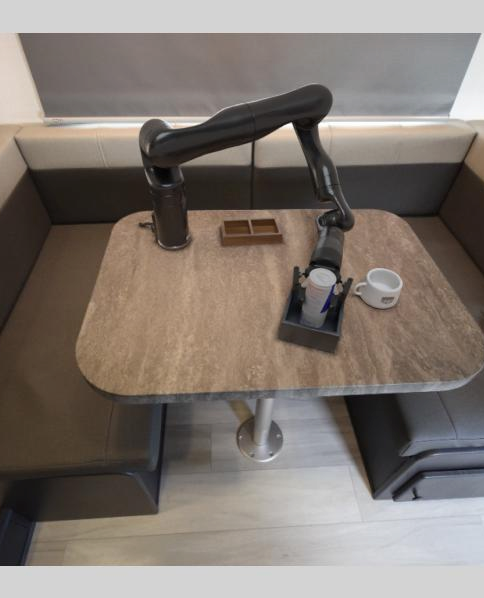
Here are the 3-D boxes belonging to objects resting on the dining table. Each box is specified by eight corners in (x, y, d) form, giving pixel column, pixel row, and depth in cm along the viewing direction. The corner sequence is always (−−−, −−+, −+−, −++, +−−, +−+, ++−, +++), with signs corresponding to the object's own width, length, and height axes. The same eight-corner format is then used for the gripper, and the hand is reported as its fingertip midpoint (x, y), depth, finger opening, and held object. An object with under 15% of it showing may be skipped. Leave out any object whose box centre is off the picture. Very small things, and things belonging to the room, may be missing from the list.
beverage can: (322, 334, 80) (336, 287, 69) (298, 330, 81) (308, 283, 70) (323, 316, 84) (337, 269, 73) (300, 312, 85) (310, 265, 74)
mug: (388, 282, 94) (396, 265, 89) (402, 309, 87) (411, 292, 83) (344, 284, 93) (350, 267, 89) (356, 311, 86) (362, 294, 82)
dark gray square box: (289, 301, 88) (292, 283, 84) (339, 313, 86) (345, 295, 81) (278, 339, 80) (280, 321, 75) (333, 353, 77) (339, 336, 73)
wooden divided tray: (221, 227, 110) (220, 219, 108) (275, 225, 112) (276, 217, 109) (223, 245, 104) (223, 237, 101) (281, 242, 105) (282, 234, 103)
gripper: (299, 240, 84) (284, 286, 73) (360, 252, 82) (354, 302, 70) (295, 264, 90) (280, 310, 79) (352, 276, 87) (345, 326, 76)
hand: (315, 306), depth 75 cm, fingers closed on beverage can, 5 cm apart
